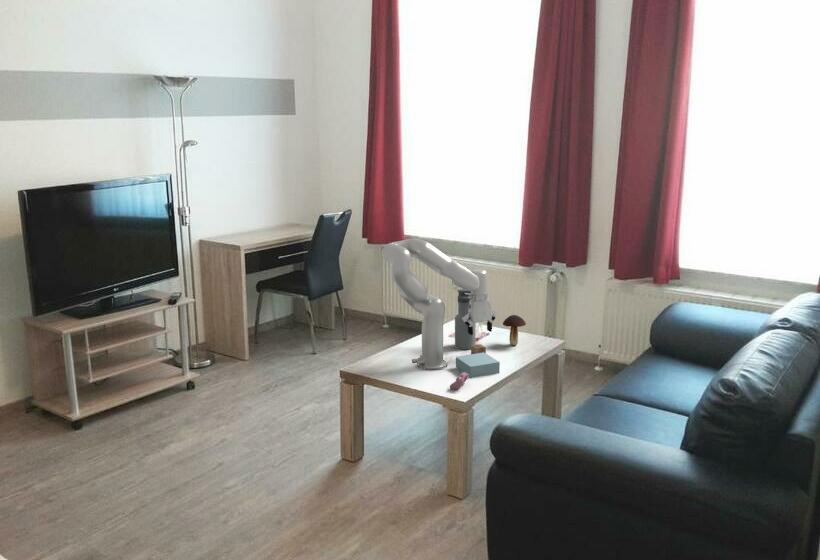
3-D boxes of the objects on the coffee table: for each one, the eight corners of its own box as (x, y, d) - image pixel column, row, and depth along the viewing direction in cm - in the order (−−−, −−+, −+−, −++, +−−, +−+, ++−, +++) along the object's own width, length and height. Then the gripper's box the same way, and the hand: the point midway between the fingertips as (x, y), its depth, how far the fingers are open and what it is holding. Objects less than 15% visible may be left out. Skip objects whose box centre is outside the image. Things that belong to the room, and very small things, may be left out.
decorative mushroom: (498, 346, 353) (499, 316, 350) (508, 340, 362) (509, 310, 359) (519, 350, 348) (520, 319, 344) (529, 343, 356) (530, 313, 353)
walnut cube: (476, 359, 337) (476, 348, 336) (471, 355, 341) (471, 345, 340) (485, 357, 339) (485, 347, 338) (480, 354, 343) (480, 343, 342)
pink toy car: (457, 394, 300) (465, 381, 297) (448, 388, 301) (455, 375, 298) (465, 386, 309) (472, 372, 306) (455, 380, 310) (462, 367, 307)
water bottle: (476, 343, 358) (477, 287, 351) (475, 350, 348) (475, 292, 342) (455, 343, 359) (455, 287, 353) (454, 349, 350) (453, 292, 344)
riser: (470, 377, 313) (470, 366, 312) (455, 367, 326) (455, 356, 325) (499, 372, 319) (499, 362, 318) (483, 362, 331) (484, 352, 330)
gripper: (465, 301, 327) (466, 338, 331) (500, 295, 333) (500, 331, 338) (458, 297, 334) (459, 333, 338) (492, 292, 340) (492, 327, 344)
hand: (480, 332), depth 338 cm, fingers open, 9 cm apart
